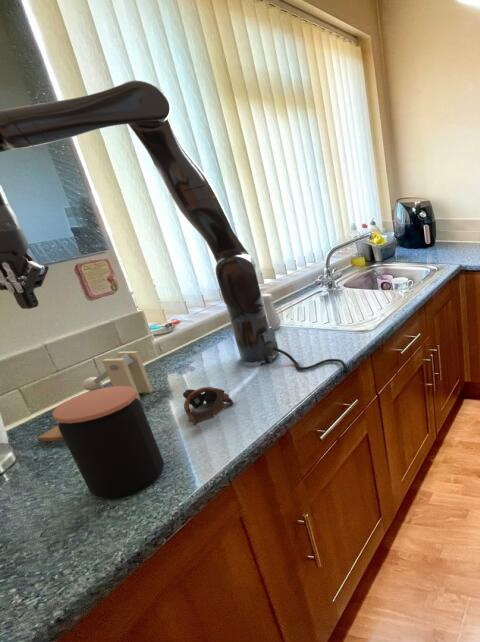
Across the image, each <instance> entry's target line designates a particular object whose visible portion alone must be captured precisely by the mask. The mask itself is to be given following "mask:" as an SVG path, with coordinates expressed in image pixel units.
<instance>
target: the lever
mask: <svg viewBox="0 0 480 642" xmlns="http://www.w3.org/2000/svg"><path fill="white" fill-rule="evenodd" d="M120 358H125V361H126V363H127V366H128V365H130V364H131V363H133V362H134V360H133V359H132V358H131V357H129V356H128V355H127V354H125V355H123V356H122V357H120ZM120 358H118V357H117V359H120ZM107 377H109V376H108V374H107V371H106V370H105V371H104V372H103V373H102V374H100V375H99V376H90V377H88V378H86V379H84V380H83V382H82V388H83V389H84V390H86V391H88V392H90V391H93V390H97V389H101V388H102V386H103V380H104V379H106V378H107Z"/></svg>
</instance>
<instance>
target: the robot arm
mask: <svg viewBox="0 0 480 642" xmlns="http://www.w3.org/2000/svg"><path fill="white" fill-rule="evenodd" d="M170 113H171V103H170V100H169V98H168V97H167V95H166V94H165V93H164V92H163V91H162V90H161V89H160V88H159V87H157V86H155V85H153V84H152V83H149V82H147V81H143V80H136V79H135V80H129V81H126V82H123V83H121V84H119V85H116V86H114V87H111V88H107V89H105V90H102V91H99V92H95V93H91V94H88V95H87V94H86V95H83V96H78V97H74V98H68V99H62V100H56V101H47V102H42V103H35V104H27V105H21V106H16V107H10V108H4V109H0V153H4V152H7V151H11V150H19V149H26V148H32V147H37V146H42V145H46V144H51V143H55V142H59V141H63V140H66V139H70V138H73V137H77V136H80V135H84V134H86V133H89V132H93V131H97V130H100V129H104V128H109V127H114V126H115V127H116V126H122V125H128V127H129V128H130V129H131V130H132V131H133V133H134V134H135V136H136V138H137V139H138V140H139V141H140V142H141V145H142V146H143V147H144V149H145V150H146V152H147V154H148V155H149V157H150V159H151V161H152V163H153V165H154V167H155V169H156V171H157V173H158V175H159V177H160V179H161V180H162V183H163V184H164V186H165V188H166V190H167V192H168V193H169V194H170V197H171V198H172V200H173V201H174V203H175V205H176V206H177V207H178V209H179V211H180V212H181V213H182V215H183V216H184V217H185V219H186V220H187V221H188V222H189V223H190V224H191V226H192V227H193V228H194V229H195V230H196V231H197V232H198V233H199V234H200V236H201V237H202V238H203V240H204V241H205V242H206V245H208V248H209V250H210V251H211V253H212V255H213V258H214V260H215V262H216V264H215V277H216V281H217V284H218V287H219V291H220V293H221V298H222V301H223V303H224V304H225V307H226V310H227V314H228V317H229V321H230V326H231V328H232V332H233V335H234V339H235V344H236V347H237V350H238V354H239V358H240V361H241V362H242V363H248V364H253V363H254V364H255V363H260V362H262V363H260V365H264V364H271V363H272V362H273V361H274V360H275V359H276V358H277V357H278V356H279V355H280V354H282V355H284V356H285V357H287V358H288V360H290V361H291V362H292V363H293V365H295V368H296V369H297V370H299V371H307V370H312V369H314V368H316V367H318V366H320V365H323V364H327V363H331V362H332V363H333V362H336V363H340V364H341V365H342V367H343V368H344V370H345V371H346V372H347V373H352V371H351V369H350V368H349V366H348V365H347V364H346V363H345V362H344V360H342V359H341V358H328V359H323V360H321V361H319V362H316V363H314V364H312V365H308V366H300V364H299V363H298V361H297V360H296V359H295V358H294V357H293V356H292V355H291V354H289V353H288V352H286V351H285V350H283V349H280V348H279V347H278V346H279V345H278V343H277V340H276V336H275V330H273V327H269V323H268V319H267V315H266V310H265V306H264V302H263V297H262V291H261V289H260V284H259V279H258V276H257V266H256V263H255V260H254V259H253V257H252V256H251V255H250V253H249V252H248V250H247V249H246V248H245V246H244V245H243V243H242V242H241V241H240V239H239V238H238V236H237V234H236V232H235V231H234V229H233V228H232V225H231V222H230V220H229V218H228V215H227V213H226V212H225V209H224V207H223V205H222V202H221V201H220V199H219V197H218V195H217V193H216V191H215V190H214V188H213V186H212V184H211V183H210V181H209V179H208V177H207V176H206V174H205V173H204V172H203V170H202V169H201V168H200V167H199V165H198V164H197V163H196V162H195V160H194V159H193V158H192V157H191V156H190V154H188V152H187V150H185V149H184V147H183V146H182V143H181V142H180V140H179V139H178V136H177V135H176V133H175V130H174V129H173V127H172V124H171V122H170V119H169V116H170ZM30 247H31V246H30V244H29V241H28V239H27V237H26V234H25V233H24V229H23V228H22V225H21V223H20V221H19V218H18V217H17V214H16V213H15V212H14V210H13V209H12V206H11V205H10V203H9V200H8V198H7V197H6V193H5V192H4V189H3V187H2V185H1V184H0V291H8V292H9V293H10V294H12V295H13V297H14V299H15V302H16V303H17V305H18V306H19V307H20V308H21V309H23V310H30V309H34V308H37V307H38V306H39V300H38V298H37V296H36V294H35V291H34V290H35V289H37V288H41V287H42V286H43V284H44V282H45V278H46V276H47V273H48V271H49V269H50V268H49V266H48V265H47V264H40V263H37V262H35V261H34V258H33V257H32V256H31V255H30V254H29V252H28V251H29V249H30Z"/></svg>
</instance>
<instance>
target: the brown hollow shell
mask: <svg viewBox="0 0 480 642" xmlns="http://www.w3.org/2000/svg"><path fill="white" fill-rule="evenodd" d="M182 397H184V399H185V400H184V403H183V409H184V410H185V414H186V415H187V420H188V422H190V423H193V426H196V425H197V424H199V423H202V422H206V421H209V420H210V419H214V418H215V416H217V415H219V413H221V412H222V411H223V410H224V409H227V408H229V407H228V405H227V404H230V405H231V406H233V405H234V402H233V399H232V398H231V397H230V395H229V394H228V393H225V390H224V389H222V388H217V387H212V386H204V387H200V388H197V389H191V388H189V389H186V390H185V391H184V392H183V394H182ZM204 403H206V404H211V403H213V404H212V405H211V406H210V407H209V408H207V409H204V410H200V411H195V410H197V409H199V408H200V407H202V406H203V405H204ZM226 403H227V404H226ZM190 405H191V406H192V408H193V409H194V410H192V411H191V408H190Z"/></svg>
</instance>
